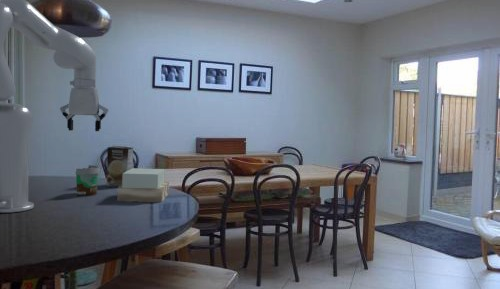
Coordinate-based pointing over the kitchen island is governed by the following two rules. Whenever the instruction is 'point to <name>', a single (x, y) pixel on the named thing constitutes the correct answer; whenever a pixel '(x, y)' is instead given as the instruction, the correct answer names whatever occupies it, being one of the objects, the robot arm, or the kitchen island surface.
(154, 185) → the tower top slab
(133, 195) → the tower base slab
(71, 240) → the kitchen island surface
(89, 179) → the food container
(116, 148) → the coffee box
